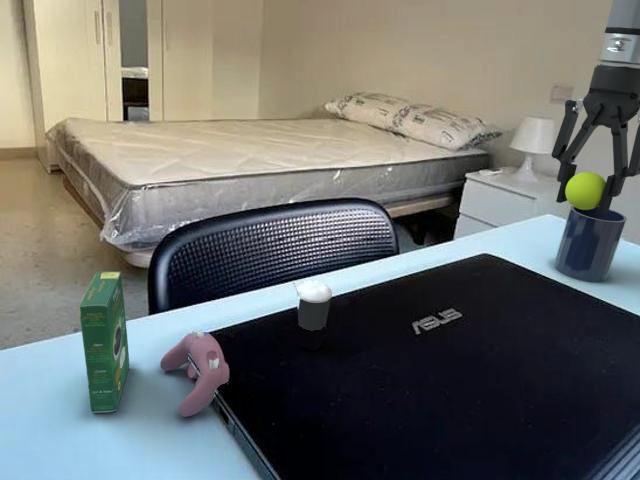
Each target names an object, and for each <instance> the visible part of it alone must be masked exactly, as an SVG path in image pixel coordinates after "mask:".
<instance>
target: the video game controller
mask: <svg viewBox="0 0 640 480" xmlns="http://www.w3.org/2000/svg"><path fill="white" fill-rule="evenodd" d="M188 353H191V355H192V358H193V360H194V362H195V363H196V365H197V366H198V368H199V370H200V375H201V377H200V376H197V373H196V370H195V369H194V367H193V366H192V365H191V363H190V361H188ZM159 363H160V365H159V367H160V369H161V370H162V371H164V372H171V371H174V370H177V369H178V368H180V367H182V366H184V365H186V364H187V363H188V366H187V376H188V378H190V379H196V381H195V386H194V388H193V389H192V390H191V391H190V392H189V393H188V394H187V395H186V396H185V397H184V398H183V399H182V401H181V403H180V404H179V406H178V414H179V415H180V416H182V417H184V418H187V417H191V416H194V415H197V414H199V412H201V411H203V410H205V408H207V407H208V406H209V405H210V404H211V403H212V402H213V401H214V400H215V399H214V393H215V390H216V389H217V388H218V387H219V386H220V385H222V384H225V383H227V382H228V383H229V380H230V368H229V367H230V366H229V364H228V363H227V362H226V361H225V357H224V353H223V350H222V347H221V346H220V344H219V342H218V341H217V340H216V339H215V337H214V336H212V335H211V334H210V333H208V332H206V331H199V330H198V331H197V332H196V331H194V330H193V331H192V332H191V333H187V334H186V335H185V336H184V337H183V338H182V339H181V340H180V341H179V342H178V343H177V344H176V345H174V346H173V347H172V348H171V349H169V350H168V351H167V352H166V353H165V354H164V355H163V357H162V358H161V360H160V362H159ZM228 383H227V384H228ZM213 399H214V400H213Z"/></svg>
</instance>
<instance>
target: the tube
mask: <svg viewBox="0 0 640 480" xmlns="http://www.w3.org/2000/svg"><path fill="white" fill-rule="evenodd" d="M598 207H599V206H598ZM598 207H596V208H594V209H589V210H582V209H578V208H576V207H574V206H572V205H571V206H570V208H569V211H568V214H567V217H566V221H565V224H564V228H563V231H562V233H561V234H562V235H561V238H560V241H559V244H558V248H557V250H556V251H557V252H556V255H555V258H554V263H553V267H554V268H555V270H557V271H558V272H559V273H561V274H563V275H565V276H567V277H570V278H572V279H575V280H579V281H584V282H589V283H600V282H604V281H606V280H607V278H608V276H609V273H610V270H611V267H612V265H613V262H614V259H615V256H616V253H617V250H618V248H619V245H620V242H621V238H622V237H623V233H624V231H625V227H626V224H627V221H628V218H627V216H626V215H624V214H623V213H621V212H619V211H616V210H614V209H611V208H609V211H608V213H606V214H604V215H598V214H597V211H598Z"/></svg>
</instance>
